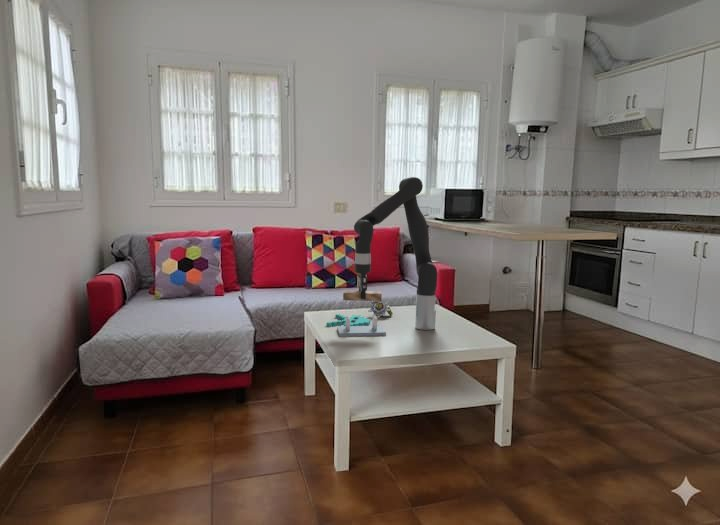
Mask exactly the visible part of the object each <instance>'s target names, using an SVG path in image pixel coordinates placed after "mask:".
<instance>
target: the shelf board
mask: <svg viewBox="0 0 720 525" xmlns="http://www.w3.org/2000/svg"><path fill="white" fill-rule="evenodd" d="M382 295H383V294H382V291H380V290H379V291H377V290H366V298H365V299H361V291H359V290H343V295H342V297H343V298H342V300H343V301H356V302H357V301H360V302H363V301H364V302H370V301H371V302H373V301H383V300H382V299H383V298H382Z"/></svg>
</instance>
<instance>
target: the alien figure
mask: <svg viewBox="0 0 720 525" xmlns="http://www.w3.org/2000/svg"><path fill="white" fill-rule="evenodd" d="M334 317H335V319H338V320H332V321H327V322H326V327H328V328H329V327H337V326H346V316H344V314H343V315H342V314H341V313H335V315H334ZM349 318H350V326H364V325H367V326H368V325H369V326H370V324H371V323H370V322H372V320H371V319H369V318H368V317H365V316H361V315H360V314H359V315H357V314H352V315H351V316H349ZM341 320H343V321H341Z"/></svg>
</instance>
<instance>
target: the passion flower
mask: <svg viewBox="0 0 720 525" xmlns="http://www.w3.org/2000/svg"><path fill="white" fill-rule="evenodd" d="M388 303H389V301H388V300H386V301H383V300H382V301H371V305H370V309H369V310H368V313H372V312H373V316H376V318H377V317H378V318H377V319H380V317H381V316H383V317H385V316H386V313H387V314H388V315H389V318H390V317H392V316H393V315H394V314H393V311H392V310H391V307H390V305H389V304H388Z"/></svg>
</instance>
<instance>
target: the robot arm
mask: <svg viewBox="0 0 720 525" xmlns="http://www.w3.org/2000/svg"><path fill="white" fill-rule="evenodd" d="M423 187H424V185H423V182H422V180H421V179H420V178H419V177H416V176H410V177H405V178H403V179H401V180H400V182H399V185H398V191H397V192H396V193H394V194H393V195H392V196H390V197H388V198H387V199H385V200H383V201H382V202H381V203H379V204H378V205H377V206H376V207H375V208H373V209H372V210H371V211H370V212H369V213H366V214H365V215H363V216H362V217H360V218H359V219H357V221H356V222H355V223H354V225H353V231H354V232H355V233H356V235H359V236H358V237H359V238H358V240H357V241H356V242H355V254H354V272H355V273H356V274H357V287H358V291H361V299H365V298H366V291H368V276H367V274H371V271H372V270H371V269H372V267H371V266H372V263H371V262H372V256H371V252H372V251H371V248H372V246H371V244H372V240H373V235H374V230H375V229H374V226H376V225H380V224H381V223H382V222H384V220H386V219H387V218H388V217H389V216H390V215H391V214H392V213H394V212H395V211H396V210H397V209H399V208H401V206H403V207H404V211H405V212H404V213H405V218H406V223H407V228H408V233H409V238H410V241H411V245H412V248H413V252H414V255H415V256H414V258H415V268H416V273H417V280H418V281H417V288H416V297H415V298H416V301H415V302H416V303H415V304H416V305H415V322H414V323H415V326H414V327H415V329H418V330H420V331H421V330H422V331H424V330H425V331H431V330H436V321H437V320H436V315H437V310H436V291H437V288H438V287H437V285H438V284H437V283H438V269H437V267H436V265H434V264H433V261H432V257H431V253H430V246H429V245H430V234H429V229H428V223H427V220H426V217H425V216H424V214H423V213H422V211H421V209H420V207H419V204H418V198H417V196H418V195H420V194H421V192H422V191H423Z"/></svg>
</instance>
